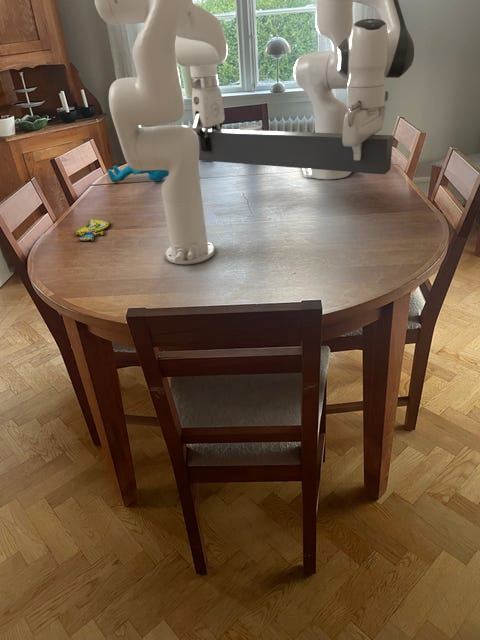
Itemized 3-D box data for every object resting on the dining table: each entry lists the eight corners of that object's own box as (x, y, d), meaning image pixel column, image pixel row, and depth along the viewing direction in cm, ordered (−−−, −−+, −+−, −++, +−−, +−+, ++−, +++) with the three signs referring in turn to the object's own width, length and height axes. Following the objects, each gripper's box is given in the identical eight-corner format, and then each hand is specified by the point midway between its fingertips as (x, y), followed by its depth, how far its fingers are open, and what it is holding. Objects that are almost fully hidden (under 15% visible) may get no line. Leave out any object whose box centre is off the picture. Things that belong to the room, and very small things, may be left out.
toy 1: (64, 237, 138) (89, 218, 150) (65, 240, 139) (90, 221, 151) (95, 238, 136) (118, 218, 148) (96, 241, 136) (119, 221, 148)
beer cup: (238, 160, 197) (235, 130, 191) (244, 154, 205) (242, 125, 198) (260, 160, 194) (258, 129, 188) (266, 154, 202) (264, 124, 195)
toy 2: (118, 158, 191) (184, 137, 181) (129, 184, 196) (194, 165, 186) (99, 171, 177) (170, 149, 167) (111, 198, 182) (181, 178, 172)
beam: (190, 159, 150) (186, 131, 146) (199, 156, 154) (195, 128, 149) (384, 174, 120) (387, 139, 116) (390, 169, 124) (393, 135, 119)
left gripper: (197, 87, 130) (205, 156, 139) (232, 79, 141) (236, 143, 151) (175, 87, 133) (184, 154, 143) (211, 79, 145) (217, 142, 155)
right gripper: (363, 106, 107) (359, 168, 115) (391, 91, 122) (386, 147, 129) (336, 105, 110) (334, 166, 118) (366, 91, 125) (363, 146, 132)
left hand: (211, 148), depth 147 cm, fingers closed on beam, 4 cm apart
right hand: (361, 156), depth 124 cm, fingers closed on beam, 4 cm apart
